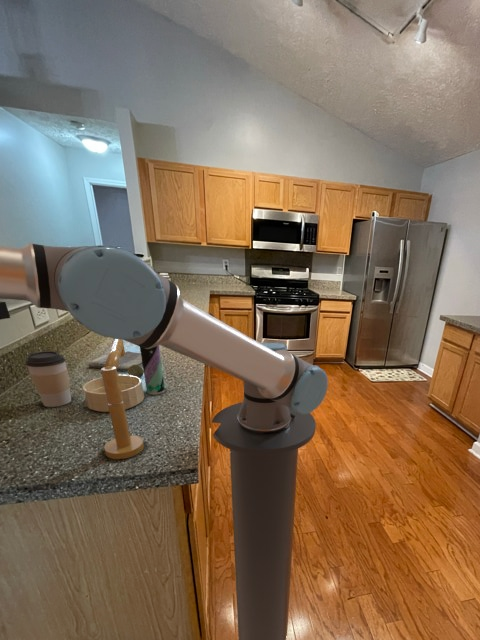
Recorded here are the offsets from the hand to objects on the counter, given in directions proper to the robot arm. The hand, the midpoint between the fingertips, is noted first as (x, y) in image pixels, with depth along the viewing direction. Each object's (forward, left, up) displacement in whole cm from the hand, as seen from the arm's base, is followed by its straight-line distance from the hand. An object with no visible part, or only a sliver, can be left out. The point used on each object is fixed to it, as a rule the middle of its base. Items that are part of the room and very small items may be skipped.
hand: (4, 309), depth 55 cm
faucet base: (-12, -7, -32) cm, 35 cm away
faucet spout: (-5, -19, -20) cm, 27 cm away
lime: (+12, -50, -32) cm, 61 cm away
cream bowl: (+6, -30, -32) cm, 45 cm away
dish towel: (+26, -64, -32) cm, 77 cm away
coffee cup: (+22, -26, -32) cm, 47 cm away
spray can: (-1, -40, -32) cm, 52 cm away
